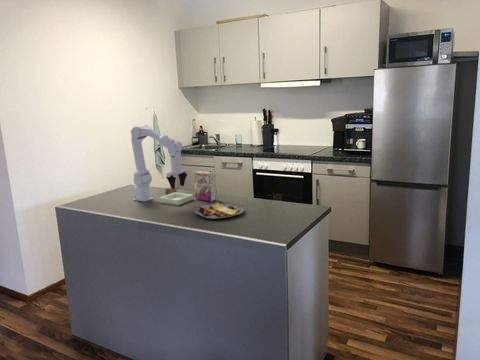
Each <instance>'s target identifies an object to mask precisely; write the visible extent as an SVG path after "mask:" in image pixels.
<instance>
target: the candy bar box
mask: <svg viewBox="0 0 480 360" xmlns="http://www.w3.org/2000/svg"><path fill="white" fill-rule="evenodd" d="M215 175H216V174H215V172H210V171H200V170H199V171H195V172H194V183H195V184H194V186H195V185H196V197H195V198H196V199H195V200H198V201H206V202H213V201H216V196H217V195H216V179H215V177H216V176H215Z"/></svg>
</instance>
